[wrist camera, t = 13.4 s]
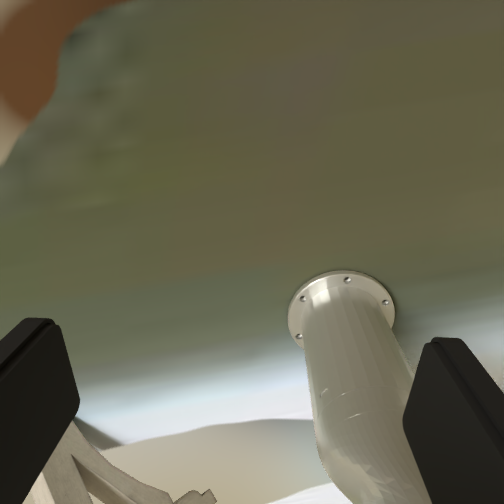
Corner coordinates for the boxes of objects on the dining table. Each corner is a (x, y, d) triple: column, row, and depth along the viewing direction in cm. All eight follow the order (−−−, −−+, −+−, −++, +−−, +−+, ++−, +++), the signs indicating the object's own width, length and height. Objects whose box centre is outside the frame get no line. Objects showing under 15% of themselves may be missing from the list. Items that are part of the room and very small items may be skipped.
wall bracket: (132, 353, 68) (216, 501, 58) (121, 365, 69) (201, 511, 60) (10, 394, 48) (105, 626, 39) (-2, 410, 50) (87, 636, 40)
